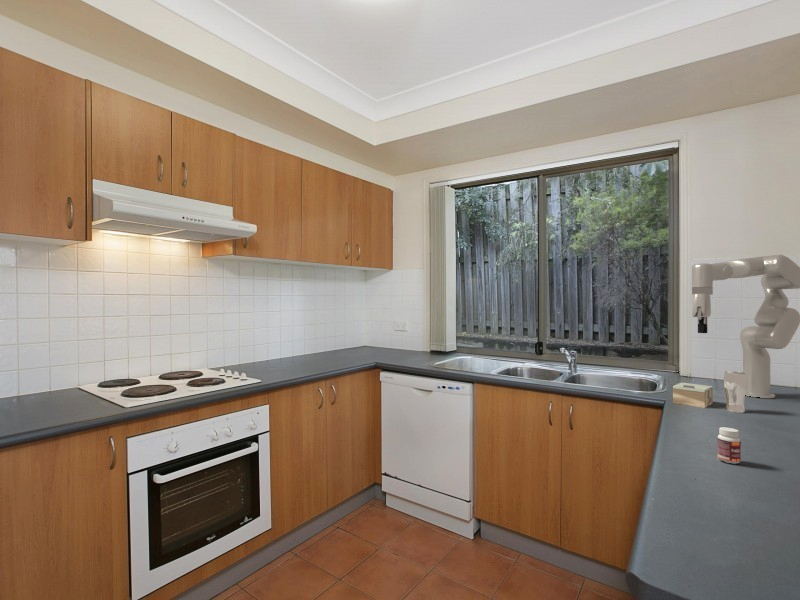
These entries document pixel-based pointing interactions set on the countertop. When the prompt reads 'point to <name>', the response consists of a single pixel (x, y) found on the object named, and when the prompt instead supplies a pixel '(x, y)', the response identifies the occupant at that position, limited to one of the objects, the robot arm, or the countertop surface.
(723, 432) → the pill bottle
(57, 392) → the countertop surface
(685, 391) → the light wooden box
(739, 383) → the beer glass
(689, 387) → the box lid
